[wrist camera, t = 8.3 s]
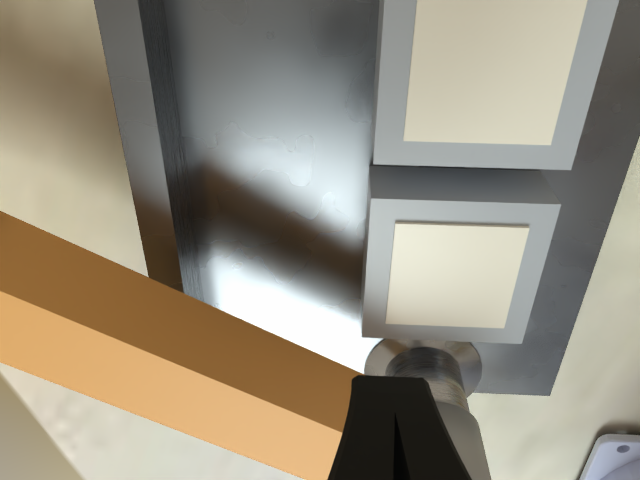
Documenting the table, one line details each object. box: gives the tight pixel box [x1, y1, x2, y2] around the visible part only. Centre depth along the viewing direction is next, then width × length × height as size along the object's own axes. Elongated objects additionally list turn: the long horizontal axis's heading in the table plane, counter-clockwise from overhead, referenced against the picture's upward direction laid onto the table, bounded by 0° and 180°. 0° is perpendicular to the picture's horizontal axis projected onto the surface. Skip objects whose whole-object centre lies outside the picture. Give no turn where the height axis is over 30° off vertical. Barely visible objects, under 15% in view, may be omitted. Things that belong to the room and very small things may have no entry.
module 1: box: [371, 0, 619, 170], centre depth 14 cm, size 5×5×2 cm
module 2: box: [361, 166, 561, 344], centre depth 17 cm, size 5×5×2 cm
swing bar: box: [0, 211, 491, 480], centre depth 16 cm, size 18×3×3 cm, turn 60°
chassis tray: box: [94, 0, 640, 413], centre depth 17 cm, size 14×17×4 cm
